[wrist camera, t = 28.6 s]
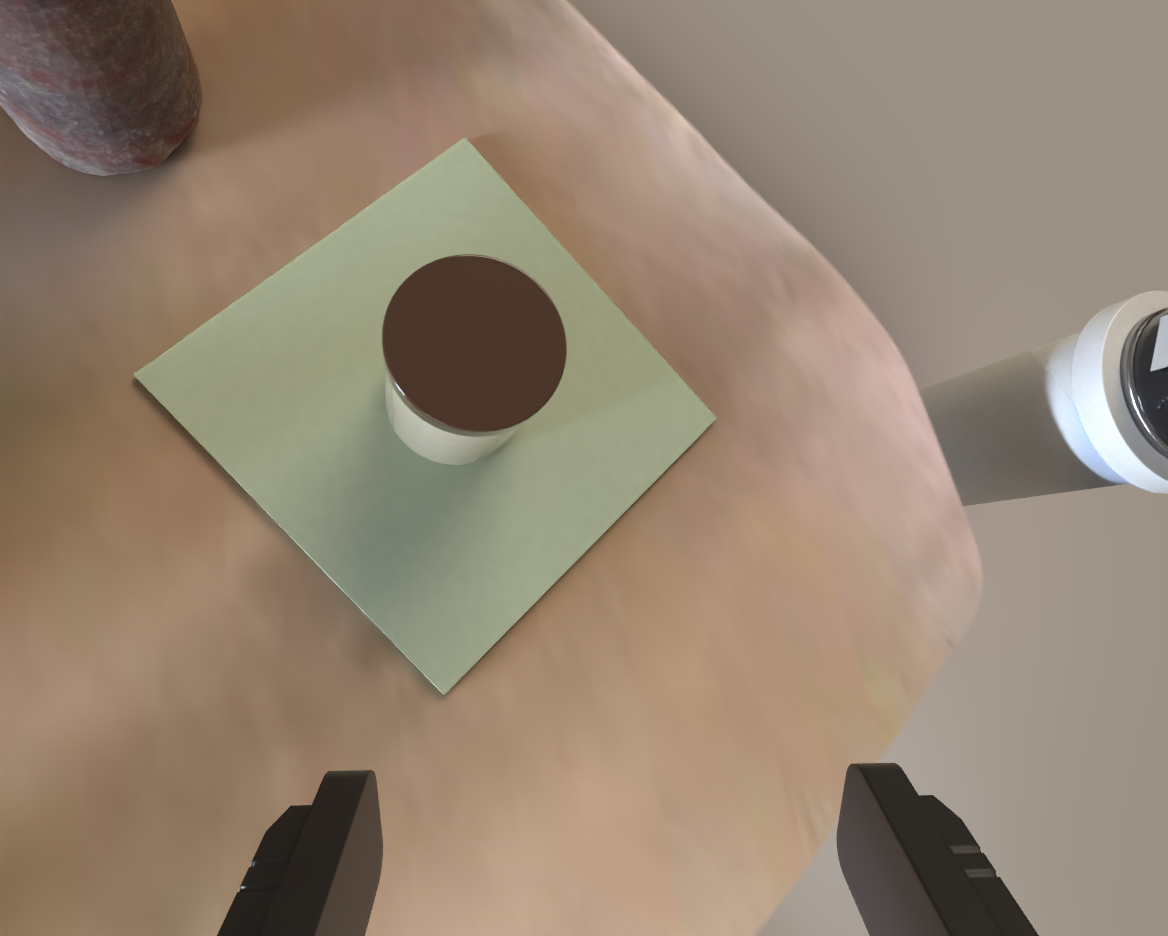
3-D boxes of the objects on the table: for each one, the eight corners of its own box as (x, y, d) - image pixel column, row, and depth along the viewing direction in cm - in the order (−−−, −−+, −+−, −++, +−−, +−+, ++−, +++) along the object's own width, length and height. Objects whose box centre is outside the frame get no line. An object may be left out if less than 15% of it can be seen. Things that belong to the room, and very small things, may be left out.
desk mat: (464, 140, 35) (465, 136, 35) (715, 419, 36) (717, 418, 36) (135, 376, 29) (132, 374, 29) (443, 694, 31) (444, 695, 30)
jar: (407, 487, 31) (417, 455, 24) (361, 350, 32) (355, 275, 24) (543, 443, 33) (593, 401, 26) (498, 315, 34) (533, 236, 26)
